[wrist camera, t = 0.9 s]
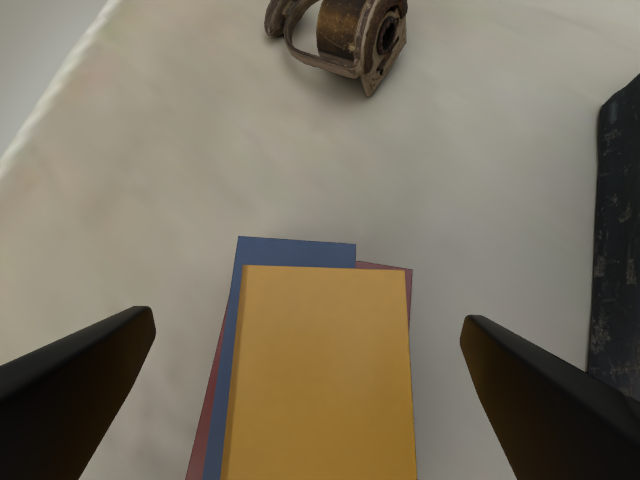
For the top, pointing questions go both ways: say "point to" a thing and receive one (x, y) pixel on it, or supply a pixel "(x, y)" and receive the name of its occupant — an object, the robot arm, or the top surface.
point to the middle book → (246, 254)
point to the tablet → (618, 246)
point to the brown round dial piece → (346, 35)
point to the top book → (320, 377)
